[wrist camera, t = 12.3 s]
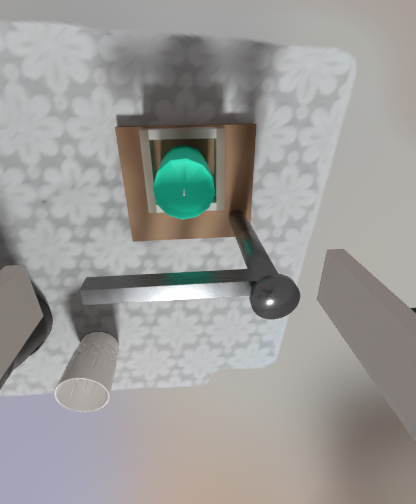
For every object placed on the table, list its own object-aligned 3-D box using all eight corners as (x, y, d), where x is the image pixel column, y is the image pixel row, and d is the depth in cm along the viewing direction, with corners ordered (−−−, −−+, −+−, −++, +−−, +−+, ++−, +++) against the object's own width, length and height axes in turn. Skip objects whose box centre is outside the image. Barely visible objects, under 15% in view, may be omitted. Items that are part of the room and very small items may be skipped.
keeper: (124, 236, 39) (79, 331, 22) (119, 208, 37) (67, 290, 21) (250, 230, 40) (296, 317, 24) (252, 203, 38) (303, 278, 22)
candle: (210, 147, 35) (221, 165, 24) (204, 194, 37) (212, 228, 27) (162, 141, 34) (151, 157, 23) (159, 189, 37) (149, 223, 26)
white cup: (77, 326, 48) (53, 376, 39) (124, 331, 49) (110, 380, 40) (77, 358, 51) (54, 410, 42) (120, 362, 53) (108, 413, 44)
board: (134, 237, 41) (129, 250, 37) (117, 126, 34) (108, 128, 30) (247, 232, 42) (254, 244, 38) (254, 123, 35) (262, 125, 31)
